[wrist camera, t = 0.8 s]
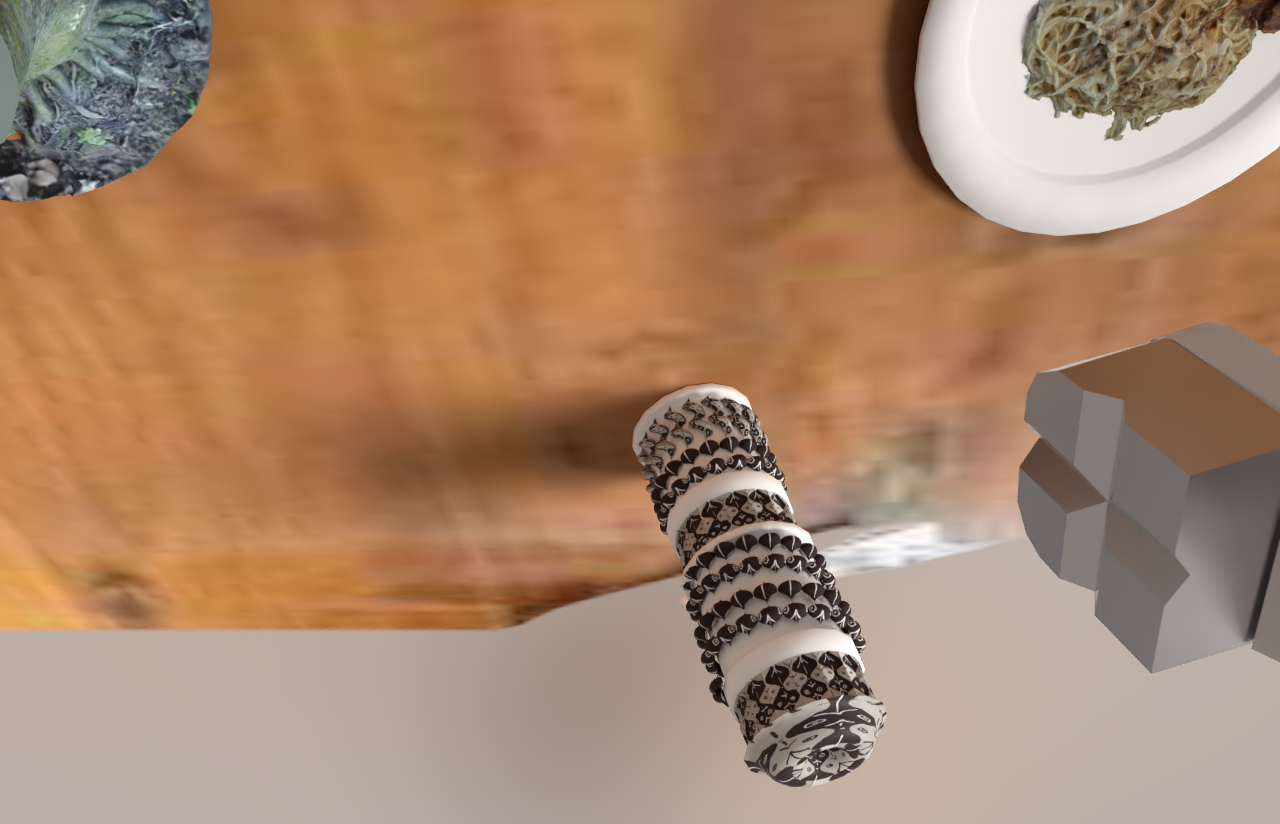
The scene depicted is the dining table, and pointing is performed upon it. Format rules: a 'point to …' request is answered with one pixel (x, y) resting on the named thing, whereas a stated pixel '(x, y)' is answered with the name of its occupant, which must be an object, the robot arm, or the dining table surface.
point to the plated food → (1095, 105)
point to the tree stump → (94, 88)
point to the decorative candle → (757, 589)
